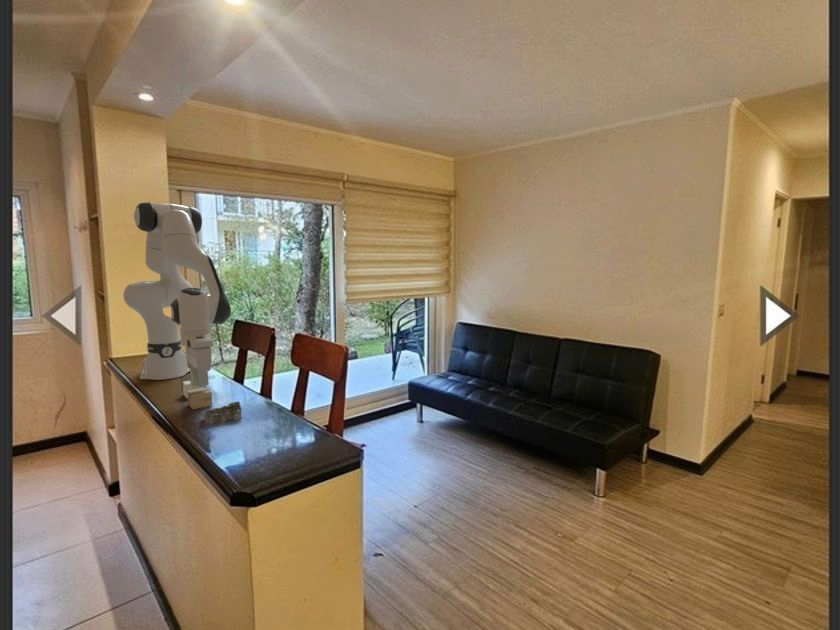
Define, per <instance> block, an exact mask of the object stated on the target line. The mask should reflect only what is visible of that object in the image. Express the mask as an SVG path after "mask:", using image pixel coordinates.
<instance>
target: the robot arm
mask: <svg viewBox="0 0 840 630" xmlns="http://www.w3.org/2000/svg"><path fill="white" fill-rule="evenodd" d="M133 217H134V218H133V219H134V222H135V224H136V227H137V229H139V230H140V231H142V232H146V241H145V264H146V267H147V269H149V270H150V271H152V272H154V273H156V274H157V275H158V274H159V276H160V280H150V281H147V280H146V281H137V282H133V283H130V284H128V285H126V286H125V288H124V291H123V299H124V303H125V304H126V305H127V306H128V308H130V309H133V310H134V311H135V312H137V313H138V314H139V316H141V318H142V319H143V320H144V323H145V326H146V331H147V340H148V341H147V345H146V349H147V355H145V358H144V359H143V360H141V364H142V367H143V366H144V367H143V369H142V370H141V373H140V375H139V380H153V381H155V380H156V381H161V380H162V381H163V380H169V379H175V378H176V379H177V378H179V377H183V376H185V375H187V374H189V373H188V372H190V369H196V370H197V373H198V376H197V380H198V382H204V375H205V372H206V371H208V372H210V371H211V369H212V353H213V352H212V347H214V341H213V338H212V331H211V325H210V324H212V325H222V324H224V323H225V322H227V321H228V320H229V319H230V317H231V315H232V314H231V313H232V309H231V303H230V301H229V300H228V297H227V295H226V293H225V290H224V289H223V286H222V283H221V280H220V278H219V275H218V273H217V269H216V267H215V265H214V262H213V259H212V258H211V256H210V254H208V253H206V252H204V251H203V249H202V248H201V247H200V245H199V242H198V239H197V234H198V233H199V232H200V231H201V229H202V225H203V217H202V214H201V212H200V211H199V209H197V208H195V207H193V206H189V205H188V206H185V205H180V204H175V203H161V202H159V203H158V202H157V203H152V202H140V203H138V205H136V207H135V210H134V213H133ZM179 267H181V268H186V269H189V270H192V271H195V272H196V273H199V274H200V275H201V276H203V279H204V281H205V284H206V287H207V289H208V292H209V295H207V291H206V290H205V289H203V288H200V287H194V286H193V285H192V284H191V283H190V282H189V281H188V280H186V279H185V278H184V276H183V274H182V273H181V270H180V268H179ZM164 308H170V309H171V310H170V311H171V316H169V315H166V314H165V313H164ZM179 325H180V327H179ZM179 328H180V329H179ZM182 346H185V352H184V351H183V350H182ZM188 363H189V364H190V366H191V368H189V367H188ZM186 373H187V374H186Z"/></svg>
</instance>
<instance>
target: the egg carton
mask: <svg viewBox="0 0 840 630" xmlns="http://www.w3.org/2000/svg"><path fill="white" fill-rule="evenodd" d="M242 412H243V411H242V407H241V403H240V401H234V402H231V403H228V405H223V406H220V407H215V408H212V409H204V410H203V415H204V423H205V424H208V423H209V424H208V425H212V424H211V423H213V424H214V422H215V423H218V422H217V421H220V422H219V423H227V422H228V421H238V420H240V419H242ZM227 420H228V421H227Z"/></svg>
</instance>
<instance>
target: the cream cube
mask: <svg viewBox="0 0 840 630" xmlns="http://www.w3.org/2000/svg"><path fill="white" fill-rule="evenodd" d="M182 385H183V386H182V389H183V396H184V397H185V398H186V399H188V393H187V391H189V390H195V389H201V386H199V387H193V386H192V385H191V384H190V380H185V381H182Z"/></svg>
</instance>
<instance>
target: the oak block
mask: <svg viewBox="0 0 840 630" xmlns="http://www.w3.org/2000/svg"><path fill="white" fill-rule="evenodd" d="M187 393H188V398H187V404H188V406H189V407H191V408H192V409H191V408H190V409H191V410H192V411H194V410H193V409H195V410H198V409H197V408H200V409H203V408H202V407H205V408H208V407H207V406H210V407H213V397H212V395H213V394H212V391H211V390H210V389H209V388H208V387H200V389H195V390H189V391H187Z"/></svg>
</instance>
